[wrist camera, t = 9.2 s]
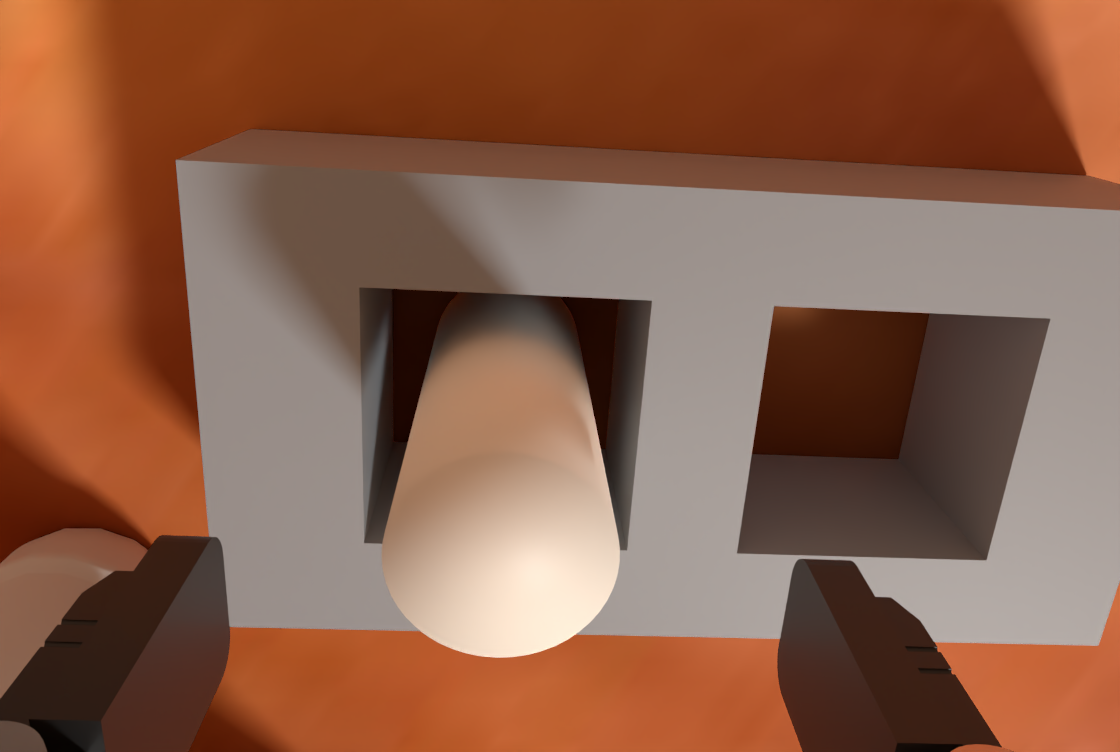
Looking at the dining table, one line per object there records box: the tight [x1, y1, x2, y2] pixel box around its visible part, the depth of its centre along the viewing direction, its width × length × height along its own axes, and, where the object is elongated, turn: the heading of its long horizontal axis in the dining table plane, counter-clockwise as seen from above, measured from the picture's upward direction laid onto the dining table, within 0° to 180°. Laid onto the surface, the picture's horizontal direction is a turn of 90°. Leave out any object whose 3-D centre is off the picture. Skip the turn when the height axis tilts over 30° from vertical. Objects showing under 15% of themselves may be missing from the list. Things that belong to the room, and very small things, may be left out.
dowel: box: [381, 292, 620, 658], centre depth 19 cm, size 4×4×10 cm
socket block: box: [176, 129, 1120, 646], centre depth 21 cm, size 20×10×5 cm, turn 86°
